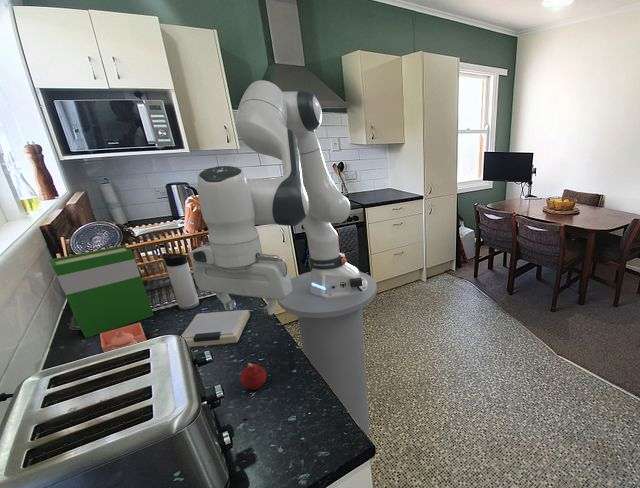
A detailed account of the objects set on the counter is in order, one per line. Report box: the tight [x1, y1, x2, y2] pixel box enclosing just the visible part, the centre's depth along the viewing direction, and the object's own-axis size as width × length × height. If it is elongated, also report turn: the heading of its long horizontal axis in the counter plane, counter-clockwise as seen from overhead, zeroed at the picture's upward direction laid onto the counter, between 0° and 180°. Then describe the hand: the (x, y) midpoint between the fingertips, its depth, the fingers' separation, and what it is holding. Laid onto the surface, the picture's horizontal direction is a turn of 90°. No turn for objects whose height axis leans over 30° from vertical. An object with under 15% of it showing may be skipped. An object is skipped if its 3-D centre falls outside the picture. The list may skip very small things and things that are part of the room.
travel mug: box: [162, 253, 200, 311], centre depth 121 cm, size 6×7×20 cm
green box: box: [48, 244, 155, 339], centre depth 110 cm, size 18×7×24 cm, turn 141°
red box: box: [99, 321, 147, 353], centre depth 98 cm, size 18×10×10 cm, turn 43°
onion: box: [239, 362, 267, 391], centre depth 87 cm, size 6×6×8 cm
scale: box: [180, 309, 251, 348], centre depth 111 cm, size 16×16×3 cm
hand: (250, 311), depth 75 cm, fingers open, 8 cm apart
